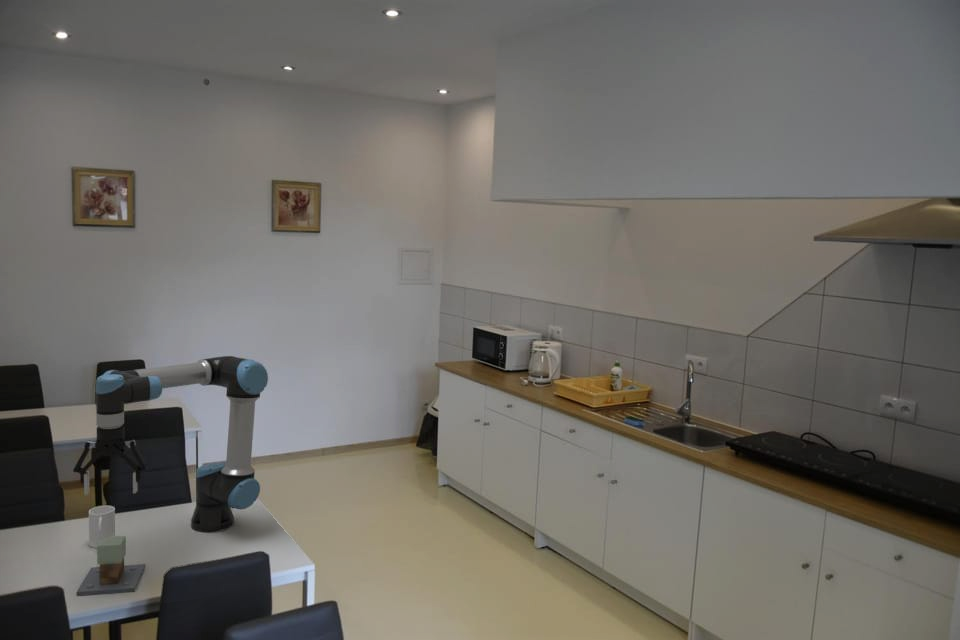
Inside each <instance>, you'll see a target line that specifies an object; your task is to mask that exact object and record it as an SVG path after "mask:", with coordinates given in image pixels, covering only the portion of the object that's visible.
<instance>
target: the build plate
mask: <svg viewBox="0 0 960 640" xmlns="http://www.w3.org/2000/svg"><path fill="white" fill-rule="evenodd" d="M145 567H146V563H142V564H141V563H139V564H124V572H123V574H122V576H121V578H120V580H119V582H118V584H108V585H99V566H93V567H90V568H89V571H88V573H87V574H86V575H85V577H84V579H83V581H82V582H81V583H80V586H78V589H77V591H76V594H75V595H76V596H77V597H78V596H93V595H106V594H121V593H122V592H123V593H130V592H131V593H134V592H136V590H137V587H138V585H139V583H140V580H141V579H142V576H143V574H144V572H145V570H146V568H145ZM144 569H145V570H144ZM135 589H136V590H135Z"/></svg>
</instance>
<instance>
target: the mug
mask: <svg viewBox="0 0 960 640" xmlns="http://www.w3.org/2000/svg"><path fill="white" fill-rule="evenodd" d="M115 536H116V508H115V506H114V505H113V506H112V505H98V506H95V507H92V508H90V509H89V510H88V543H87V544H88V546H89V547H90V548H97V546H98V544H99V543H100V541H101V540H102V538H103V537H115Z"/></svg>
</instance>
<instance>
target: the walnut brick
mask: <svg viewBox="0 0 960 640" xmlns="http://www.w3.org/2000/svg"><path fill="white" fill-rule="evenodd" d="M124 565H125V557H124V558H123V560H122V562H121V563H119V564H101V565H98V567H99V585H108V584H118V582H119V580H120V578H121V576H122V574H123V572H124Z"/></svg>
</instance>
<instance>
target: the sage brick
mask: <svg viewBox="0 0 960 640" xmlns="http://www.w3.org/2000/svg"><path fill="white" fill-rule="evenodd" d="M126 537H127V536H126V535H120V536H119V535H118V536H117V535H115V537H103V538H102V540H101V541H100V543H99V544H98V546H97V549H96V550H97V553H96V556H97V557H96V558H97V566H100V565H101V564H119V563H121V562H122V560H123V558H124V559H125V557H126V554H127V546H126V544H127V542H126V541H127V540H126Z"/></svg>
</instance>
